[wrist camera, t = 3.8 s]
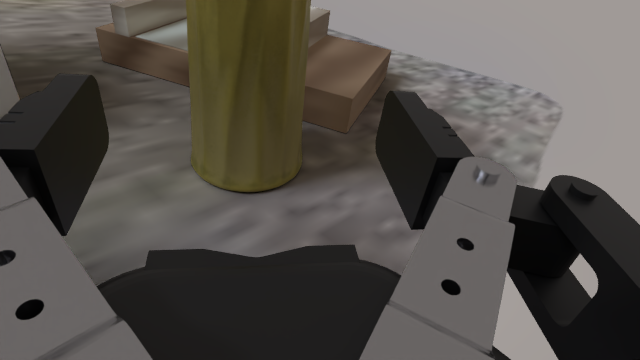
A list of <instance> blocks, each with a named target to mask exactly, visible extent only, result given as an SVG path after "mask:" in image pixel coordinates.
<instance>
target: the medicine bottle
mask: <svg viewBox="0 0 640 360" xmlns="http://www.w3.org/2000/svg"><path fill="white" fill-rule="evenodd" d="M19 100H20V97H19V94H18V92H17V89H16V86H15V83H14V81H13V78H12V75H11V72H10V70H9V67H8V64H7V61H6V59H5V56H4V53H3V50H2V48H1V45H0V119H1V118H2V117H3V116H4V115H5V114H8V111H9V110H10V109H11V108H12V107H13V106H14V105H15V104H16V103H17V102H18V101H19Z"/></svg>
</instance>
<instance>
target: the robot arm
mask: <svg viewBox="0 0 640 360" xmlns="http://www.w3.org/2000/svg"><path fill="white" fill-rule="evenodd" d="M108 144H109V133H108V127H107V123H106V118H105V114H104V109H103V105H102V101H101V96H100V92H99V88H98V84H97V81H96V79H95V78H94V76H92V75H79V74H58V75H57V76H56V77H55V78H54V79H53V80H52V81H51V83H50V84H49V85H48V86H47V87H46V88H45V89H44V90H43V91H42V92H35V93H33V94H31V95H29V96H27V97H25V98H23V99H21V100H19V101H18V102H17V103H16V104H15V105H14V106H13V107H12V108H11V109H10V110H9V111H8V114H5V115H4V116H3V117H2V118H1V119H0V360H511V359H509V358H508V357H507V356H505V355H504V354H503V353H501V352H500V351H499V350H498V349H496V348H495V347H494V346H493V345H492V344H493V338H494V334H495V329H496V323H497V318H498V313H499V307H500V303H501V298H502V292H503V287H504V282H505V277H506V272H508V274H509V276H510V277H511V279H512V281H513V282H514V284H515V286H516V288H517V289H518V291H519V293H520V294H521V296H522V298H523V299H524V301H525V303H526V305H527V306H528V308H529V310H530V312H531V313H532V315H533V317H534V318H535V320H536V322H537V324H538V325H539V327H540V328H541V330H542V332H543V334H544V336H545V337H546V339H547V341H548V342H549V344H550V346H551V348H552V349H553V351H554V353H555V354H556V356H557V358H558V359H559V360H640V225H639V224H638V223H637V222H636V221H635V220H634V219H633V218H632V217H631V216H630V215H629V214H628V213H627V212H626V211H625V210H624V209H622V207H621V206H620V205H619V204H617V203H616V202H615V201H614V200H613V199H612V198H611V197H610V196H609V195H608V194H607V193H606V192H605V191H603V190H602V189H601V188H599V187H597V186H596V185H594V184H592V183H590V182H588V181H586V180H583V179H580V178H577V177H573V176H567V175H559V176H555V177H553V178H552V179H551V181H550V183H549V184H548V186H547V188H546V189H545V191H543V190H538V189H534V188H529V187H524V186H519V185H517V181H516V178H515V176H514V175H513V173H512V172H511V171H510V170H508V169H507V168H506V167H504V166H503V165H501V164H499V163H497V162H495V161H492V160H489V159H486V158H481V157H475V156H474V155H473V154H472V153H471V151H470V150H469V149H468V148H467V146H466V145H465V144H464V143H463V141H462V140H461V139H460V138H459V137H457V134H456V133H455V131H454V130H453V129H451V126H450V125H449V124H448V123H447V121H446V120H445V119H444V118H443V117H442V116H440V115H439V114H437V113H436V112H434V111H433V110H431V109H428V108H427V107H426V105H425V104H424V103H423V101H422V100H421V99H420V97H419V96H418V95H417V94H416V93H415V92H403V91H390V92H389V93H388V94H387V96H386V99H385V103H384V107H383V111H382V116H381V120H380V124H379V128H378V132H377V136H376V154H377V157H378V159H379V161H380V164H381V166H382V168H383V170H384V172H385V174H386V177H387V179H388V181H389V183H390V185H391V187H392V189H393V192H394V194H395V196H396V198H397V200H398V202H399V205H400V207H401V209H402V211H403V213H404V215H405V217H406V220H407V222H408V224H409V226H410V228H411V230H418V229H424V231H423V233H422V235H421V237H420V239H419V241H418V243H417V245H416V247H415V249H414V251H413V253H412V255H411V257H410V260H409V262H408V264H407V266H406V268H405V270H404V272H403V274H402V276H401V275H399V274H397V273H396V272H394V271H392V270H390V269H388V268H386V267H383V266H380V265H378V264H375V263H372V262H368V261H364V260H359V258H358V255H357V252H356V248H355V245H327V246H306V247H302V248H297V249H293V250H289V251H285V252H281V253H276V254H272V255H268V256H264V257H248V256H242V255H236V254H230V253H224V252H218V251H212V250H206V249H187V250H152V251H149V253H148V257H147V261H146V265H145V267H143V268H139V269H135V270H132V271H129V272H126V273H123V274H121V275H118V276H116V277H114V278H111V279H109V280H107V281H106V282H104V283H102V284H100V285H98V286H96V285H95V284H94V283H93V281H92V280H91V278H90V277H89V275H88V274H87V272H86V271H85V269H84V268H83V267H82V265H81V264H80V262H79V261H78V259H77V258H76V256H75V255H74V254H73V252H72V251H71V249H70V248H69V246H68V245H67V243H66V242H65V240H64V239H63V238H62V236H66V235H67V233H68V231H69V229H70V227H71V225H72V223H73V221H74V219H75V217H76V214H77V212H78V210H79V208H80V206H81V204H82V202H83V200H84V198H85V196H86V194H87V192H88V189H89V187H90V185H91V183H92V181H93V179H94V177H95V175H96V173H97V171H98V169H99V167H100V165H101V162H102V160H103V158H104V156H105V154H106V152H107V149H108ZM579 254H581V255H582V256H583V257H584V259H585V260H586V261H587V262H588V263H589V265H590V266H591V267H592V268H593V270H594V271H595V273H596V275H597V278H598V290H597V293H596V294H595V296H594V297H593V298H592V299H591V297H590V296H589V295H588V293H587V292H586V291H585V289H584V288H583V287H582V285H581V284H580V283H579V281H578V280H577V279H576V277H575V276H574V275H573V273H572V272H571V271H570V269H569V267H570V266H571V265H572V263H573V262H574V260H575V259H576V258H577V257H578V255H579Z"/></svg>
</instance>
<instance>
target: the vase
mask: <svg viewBox="0 0 640 360" xmlns="http://www.w3.org/2000/svg"><path fill="white" fill-rule="evenodd" d="M310 5H311V0H186V13H187V42H188V63H189V82H190V99H191V130H192V154H191V164H192V166H193V168H194V170H195V171H196V172H197V174H198V175H199V176H200V177H201V178H203V179H204V180H205V181H206V182H208V183H210V184H212V185H214V186H217V187H219V188H222V189H226V190H231V191H238V192H258V191H264V190H269V189H273V188H276V187H279V186H281V185H283V184H285V183H287V182H288V181H290V180H291V179H292V178H294V177H295V176H296V174H297V173H298V172H299V170H300V167H301V164H302V149H301V141H302V115H303V106H304V93H305V80H306V68H307V57H308V43H309V28H310Z"/></svg>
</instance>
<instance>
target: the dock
mask: <svg viewBox="0 0 640 360" xmlns="http://www.w3.org/2000/svg"><path fill="white" fill-rule="evenodd" d="M110 6H111V12H112V17H113V22H114V23H111V24H107V25H104V26H100V27H97V28H96V32H97V37H98V41H99V46H100V51H101V55H102V60H103V61H105V62H108V63H111V64H115V65H118V66H121V67H125V68H128V69H131V70H135V71H138V72H141V73H145V74H148V75H152V76H155V77H158V78H162V79H165V80H168V81H172V82H175V83H178V84H182V85H185V86H189V87H190V82H189V63H188V42H187V13H186V0H125V1H121V2H117V3H113V4H110ZM329 15H330V11H329V10H325V9H320V8H316V7H311V6H310V28H309V43H308V57H307V68H306V80H305V93H304V106H303V115H302V120H303V121H306V122H309V123H313V124H316V125H320V126H323V127H326V128H330V129H333V130H336V131H340V132H343V133H347V132H348V131H349V129H350V128H351V126H352V125H353V123H354V122H355V121H356V119H357V118H358V116H359V115H360V113H361V112H362V111H363V109H364V108H365V106H366V105H367V103H368V102H369V101H370V99H371V98H372V96H373V95H374V93H375V92H376V91H377V89H378V88H379V86H380V85H381V83H382V82H383V81H384V79H385V76H386V72H387V67H388V63H389V59H390V54H391V50H388V49H384V48H379V47H375V46H371V45H367V44H363V43H359V42H355V41H351V40H346V39H342V38H338V37H334V36H330V35H327V31H328V23H329Z"/></svg>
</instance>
